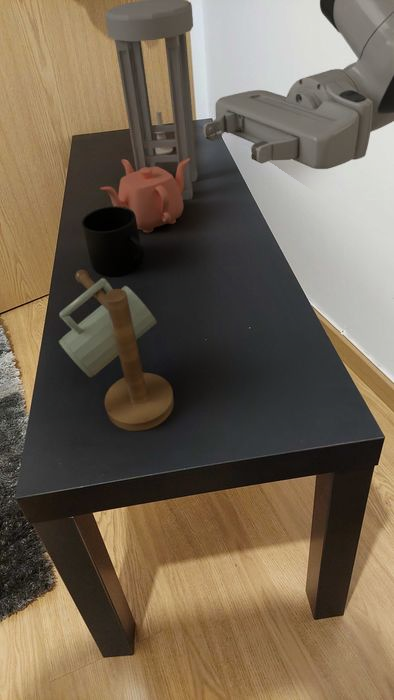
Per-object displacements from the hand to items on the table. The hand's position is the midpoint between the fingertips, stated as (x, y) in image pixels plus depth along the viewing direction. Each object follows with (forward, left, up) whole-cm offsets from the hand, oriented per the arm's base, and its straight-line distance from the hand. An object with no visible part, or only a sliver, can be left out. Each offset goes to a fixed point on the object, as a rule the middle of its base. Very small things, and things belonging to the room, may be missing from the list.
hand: (229, 143), depth 59 cm
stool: (+50, -15, -28) cm, 59 cm away
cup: (-1, +25, -19) cm, 32 cm away
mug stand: (-3, +19, -28) cm, 34 cm away
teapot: (+40, -5, -28) cm, 49 cm away
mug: (+27, +7, -28) cm, 40 cm away
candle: (+71, -24, -28) cm, 80 cm away
